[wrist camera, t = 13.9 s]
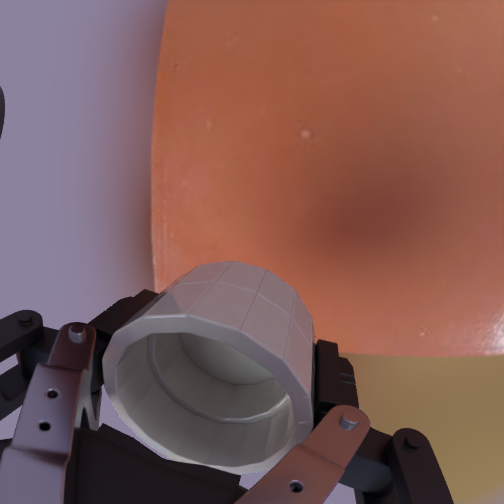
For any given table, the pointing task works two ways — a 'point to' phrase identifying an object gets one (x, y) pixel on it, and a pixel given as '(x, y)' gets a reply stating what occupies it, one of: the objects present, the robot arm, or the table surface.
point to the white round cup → (217, 369)
